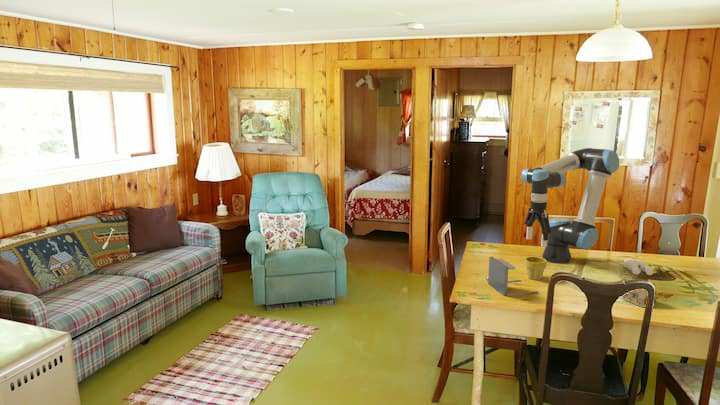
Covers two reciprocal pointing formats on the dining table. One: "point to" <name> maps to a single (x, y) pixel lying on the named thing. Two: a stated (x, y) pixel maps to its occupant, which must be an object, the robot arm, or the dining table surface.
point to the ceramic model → (638, 297)
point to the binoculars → (638, 266)
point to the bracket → (501, 276)
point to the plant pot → (535, 267)
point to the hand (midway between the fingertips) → (536, 242)
